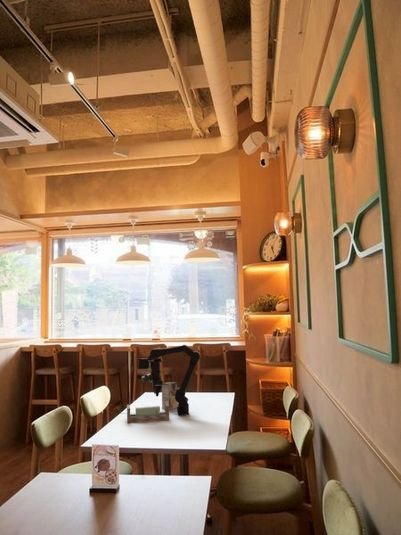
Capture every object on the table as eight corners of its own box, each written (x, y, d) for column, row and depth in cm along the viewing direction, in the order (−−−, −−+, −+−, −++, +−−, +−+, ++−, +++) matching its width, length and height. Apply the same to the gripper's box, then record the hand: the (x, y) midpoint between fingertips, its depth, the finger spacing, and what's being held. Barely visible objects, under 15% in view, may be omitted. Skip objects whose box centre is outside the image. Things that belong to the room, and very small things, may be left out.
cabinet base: (167, 416, 254) (167, 402, 255) (169, 420, 244) (169, 406, 245) (127, 418, 250) (127, 404, 251) (127, 423, 240) (127, 408, 241)
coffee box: (171, 406, 282) (170, 381, 284) (178, 407, 278) (178, 382, 280) (161, 408, 275) (161, 383, 276) (169, 409, 271) (168, 384, 273)
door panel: (159, 416, 250) (159, 405, 251) (159, 417, 247) (159, 407, 248) (135, 417, 248) (135, 407, 248) (135, 419, 244) (135, 408, 245)
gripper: (141, 368, 268) (141, 393, 267) (144, 371, 250) (144, 398, 249) (158, 367, 271) (159, 392, 269) (162, 370, 253) (163, 397, 251)
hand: (156, 395), depth 260 cm, fingers open, 9 cm apart
